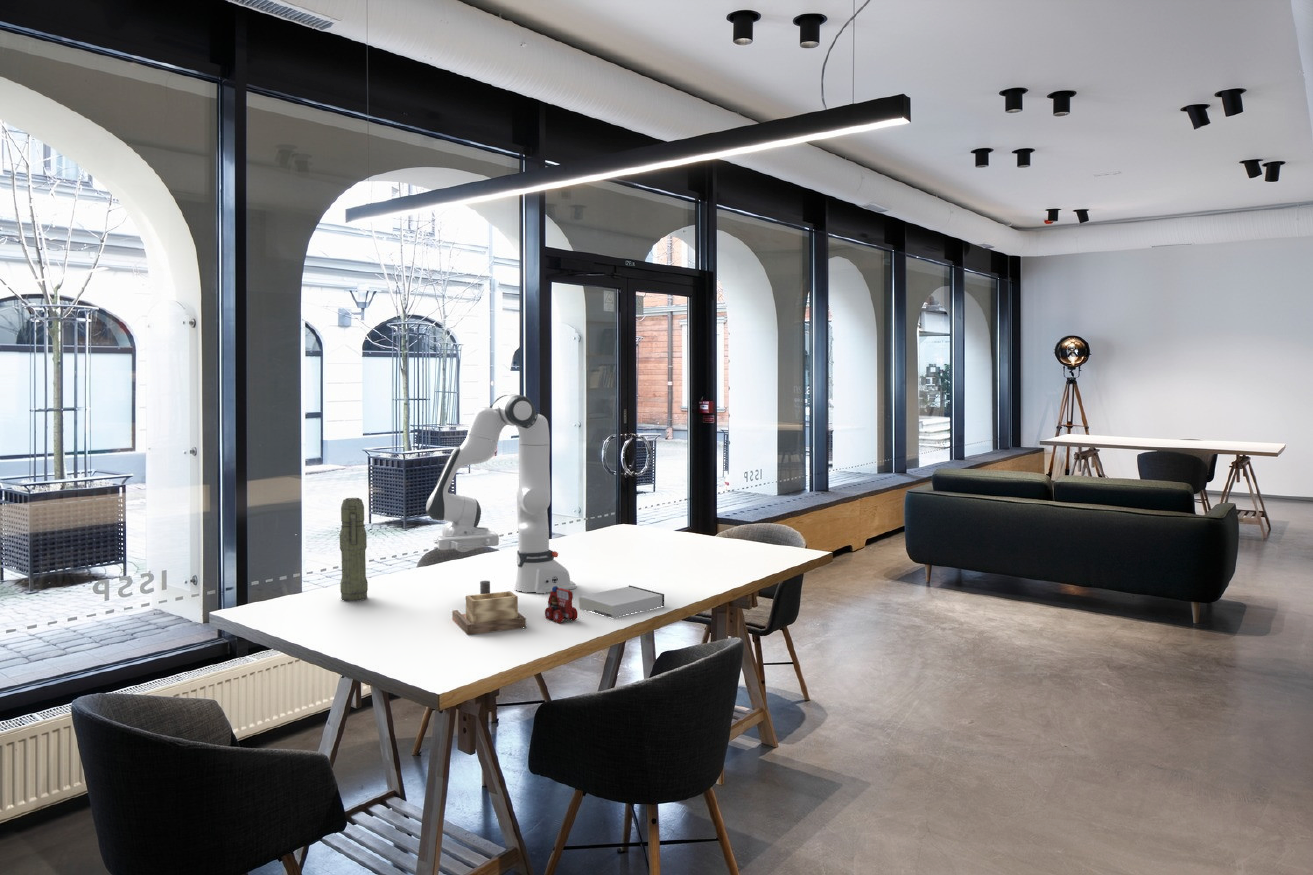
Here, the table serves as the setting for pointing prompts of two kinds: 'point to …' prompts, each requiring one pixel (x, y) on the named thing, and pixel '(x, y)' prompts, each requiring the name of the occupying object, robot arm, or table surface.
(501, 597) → the crate
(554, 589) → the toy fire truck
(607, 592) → the disc drive
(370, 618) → the table surface
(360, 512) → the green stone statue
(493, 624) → the tray
